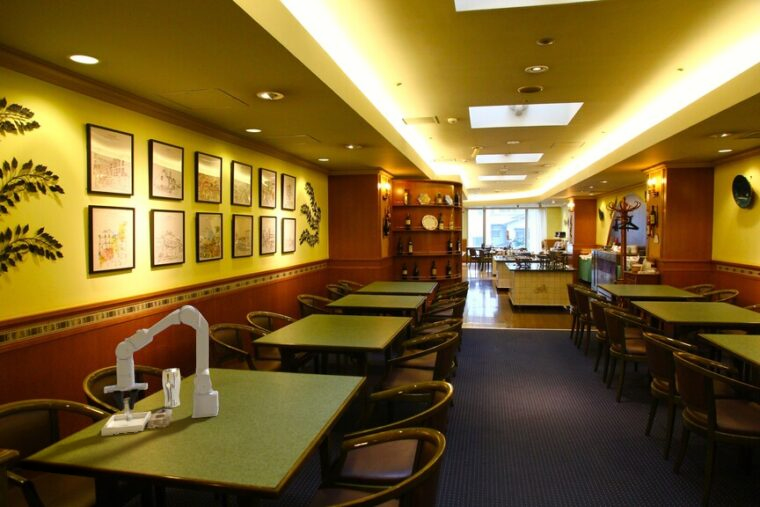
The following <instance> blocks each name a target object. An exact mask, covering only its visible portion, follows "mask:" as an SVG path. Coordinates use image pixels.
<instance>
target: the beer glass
mask: <svg viewBox="0 0 760 507" xmlns="http://www.w3.org/2000/svg"><path fill="white" fill-rule="evenodd" d="M162 388H163V393H164V401H165V402H164V408H165V409H171V408H172V409H173V408H176V407H179V406H180V405H181V400H180V389H181V372H180V368H177V367H174V368H173V367H172V368H167V369H164V370H162Z"/></svg>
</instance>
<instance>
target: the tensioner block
mask: <svg viewBox="0 0 760 507" xmlns="http://www.w3.org/2000/svg"><path fill="white" fill-rule="evenodd" d="M172 416H173V409H171V408H161V409H159V410H157V411H155V413H151V416H150V418H149V419H148V424H147V429H148V428H150V429H156V428H155V427H159V428H167V427H166V426H168V427H169V425H170V423H171V421H172Z"/></svg>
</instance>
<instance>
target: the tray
mask: <svg viewBox="0 0 760 507" xmlns="http://www.w3.org/2000/svg"><path fill="white" fill-rule="evenodd" d="M151 414H152V411H142V412H132V417H133V420H131V421H126V420H125V413H121V414H113V415H112V416H111V417H110V418H109V419H108V420H107V422H105V424H104V425H103V426H102V427H101V429H100V430H101V436H102V437H105V436H113V434H115V435H120V434H119V433H124V434H128V433H127V432H134V433H139V432H138V431H143V432H144V430H145V429H146V427H147V426H148V424H147V423H148V419H149V418H150V416H151ZM145 426H146V427H145ZM144 428H145V429H144Z"/></svg>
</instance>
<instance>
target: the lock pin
mask: <svg viewBox="0 0 760 507" xmlns="http://www.w3.org/2000/svg"><path fill="white" fill-rule="evenodd" d="M122 403H123V406H124V407H123V411H124V414H125V420H126V421H131V420H133V417H132V413H133V410H131V409H130V397H126V398H123V400H122Z"/></svg>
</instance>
